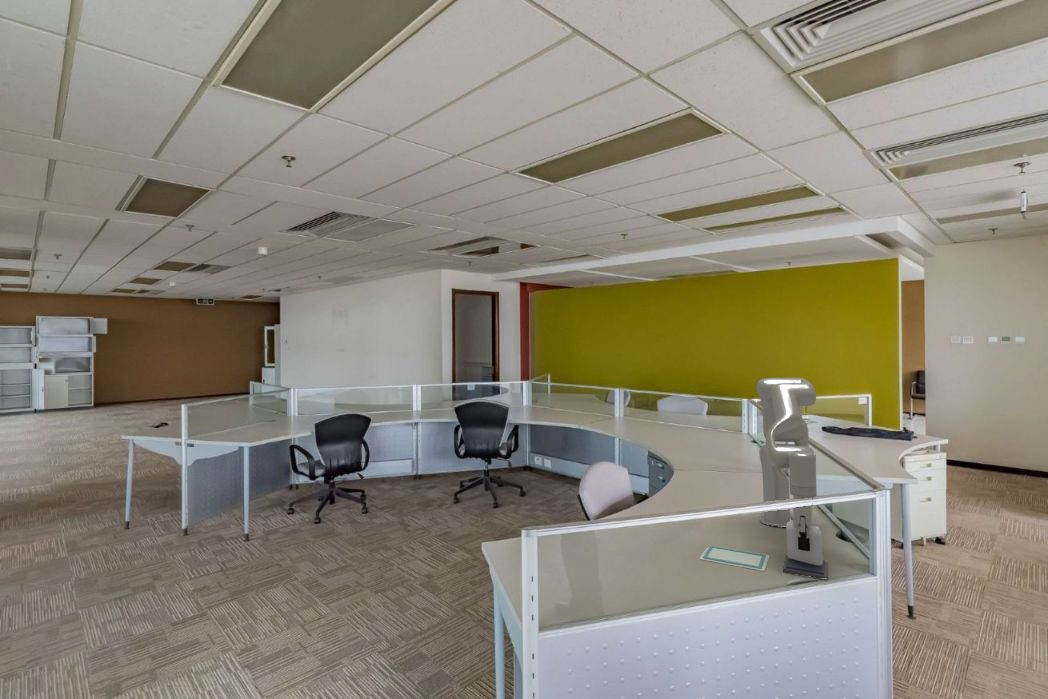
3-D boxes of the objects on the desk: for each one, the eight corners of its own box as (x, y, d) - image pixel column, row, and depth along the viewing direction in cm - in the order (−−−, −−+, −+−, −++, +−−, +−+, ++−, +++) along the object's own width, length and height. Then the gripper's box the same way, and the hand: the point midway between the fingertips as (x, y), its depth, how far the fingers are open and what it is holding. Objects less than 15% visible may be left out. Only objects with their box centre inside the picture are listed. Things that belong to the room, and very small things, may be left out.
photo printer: (784, 558, 163) (783, 520, 163) (789, 553, 166) (788, 516, 166) (820, 567, 156) (819, 527, 156) (824, 563, 159) (823, 524, 159)
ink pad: (786, 558, 169) (785, 553, 169) (827, 565, 162) (827, 560, 162) (782, 572, 158) (782, 566, 158) (827, 580, 152) (827, 574, 152)
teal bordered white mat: (708, 545, 182) (708, 543, 182) (769, 555, 171) (769, 554, 171) (699, 559, 170) (699, 557, 170) (764, 571, 159) (764, 569, 159)
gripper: (791, 482, 170) (793, 535, 170) (787, 495, 155) (789, 554, 156) (817, 484, 166) (818, 539, 166) (815, 499, 151) (817, 559, 152)
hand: (804, 546), depth 161 cm, fingers closed on photo printer, 5 cm apart
